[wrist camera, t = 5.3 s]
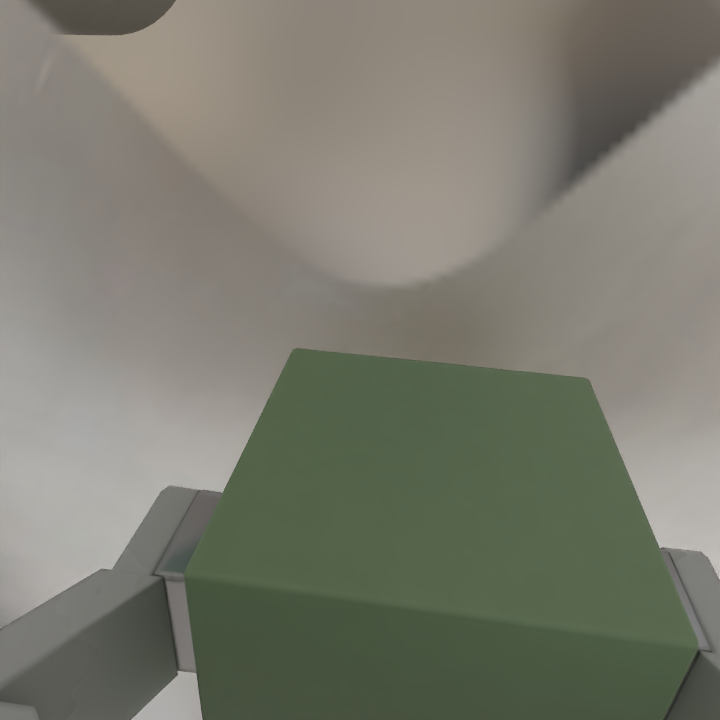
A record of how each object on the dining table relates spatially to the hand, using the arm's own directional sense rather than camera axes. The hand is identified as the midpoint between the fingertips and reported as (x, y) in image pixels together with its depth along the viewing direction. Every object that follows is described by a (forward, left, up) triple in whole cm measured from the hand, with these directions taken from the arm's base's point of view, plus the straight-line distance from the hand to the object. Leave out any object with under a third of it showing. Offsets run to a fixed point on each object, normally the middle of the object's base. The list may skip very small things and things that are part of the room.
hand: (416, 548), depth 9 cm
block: (0, 0, -2) cm, 2 cm away
